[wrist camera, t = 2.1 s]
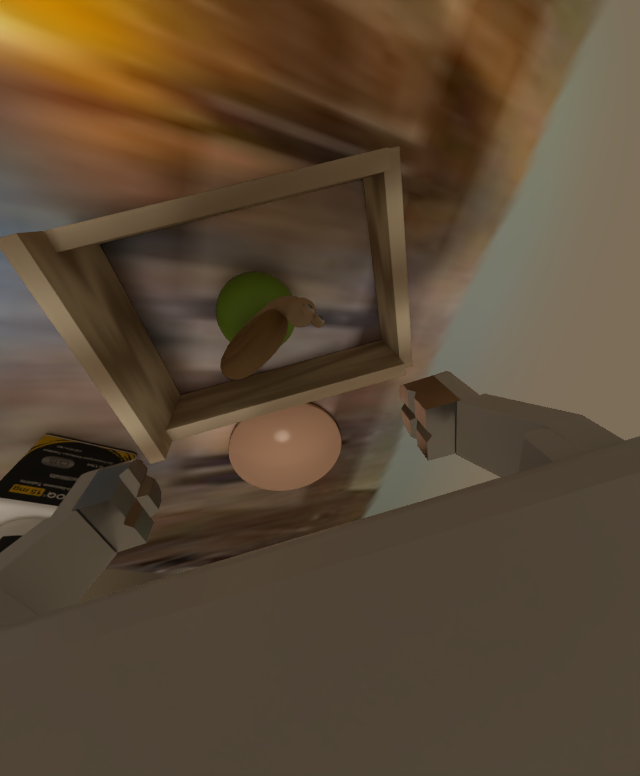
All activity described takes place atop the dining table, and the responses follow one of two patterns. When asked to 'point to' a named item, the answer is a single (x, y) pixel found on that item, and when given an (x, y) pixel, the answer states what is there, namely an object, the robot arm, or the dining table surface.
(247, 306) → the snail figurine
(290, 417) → the tan disc
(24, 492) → the medicine bottle
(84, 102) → the dining table surface
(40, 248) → the cold frame
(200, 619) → the robot arm
